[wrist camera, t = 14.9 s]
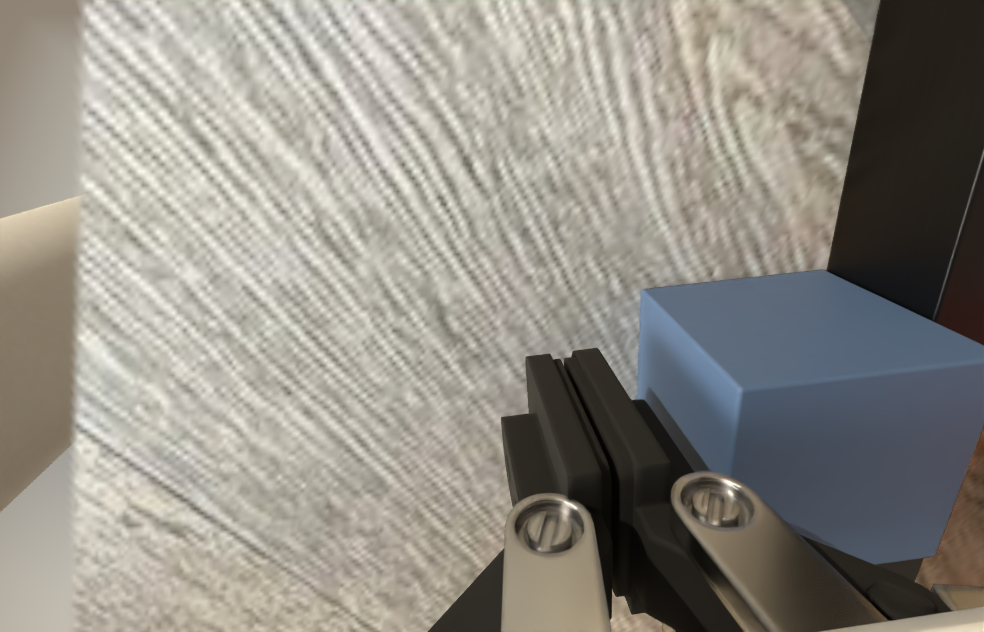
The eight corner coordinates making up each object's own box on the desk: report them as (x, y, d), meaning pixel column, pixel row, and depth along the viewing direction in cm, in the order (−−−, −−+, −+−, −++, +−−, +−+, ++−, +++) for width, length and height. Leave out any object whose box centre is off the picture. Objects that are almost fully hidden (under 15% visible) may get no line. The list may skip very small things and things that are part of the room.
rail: (735, 726, 20) (781, 827, 17) (1036, -801, 6) (1472, -1461, 4) (775, 720, 20) (827, 820, 17) (1154, -803, 7) (1669, -1451, 4)
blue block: (634, 441, 14) (712, 588, 10) (639, 288, 12) (739, 388, 8) (793, 422, 14) (937, 558, 10) (823, 268, 12) (1012, 357, 8)
